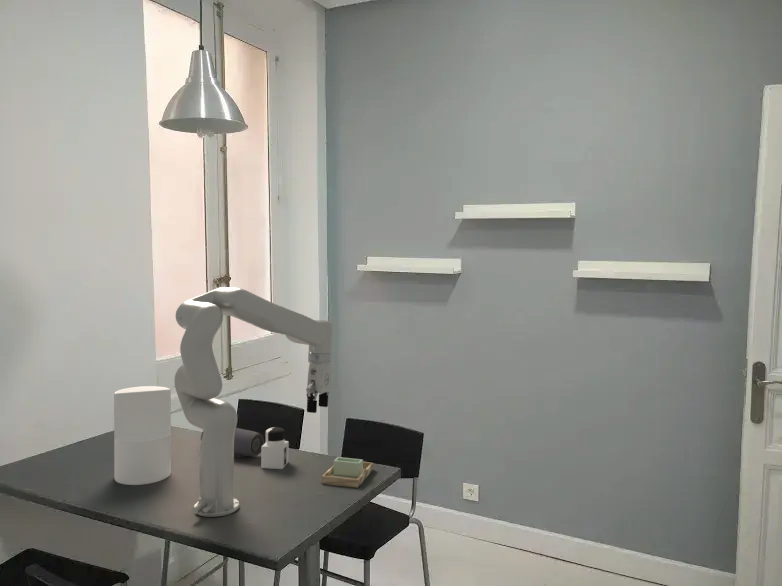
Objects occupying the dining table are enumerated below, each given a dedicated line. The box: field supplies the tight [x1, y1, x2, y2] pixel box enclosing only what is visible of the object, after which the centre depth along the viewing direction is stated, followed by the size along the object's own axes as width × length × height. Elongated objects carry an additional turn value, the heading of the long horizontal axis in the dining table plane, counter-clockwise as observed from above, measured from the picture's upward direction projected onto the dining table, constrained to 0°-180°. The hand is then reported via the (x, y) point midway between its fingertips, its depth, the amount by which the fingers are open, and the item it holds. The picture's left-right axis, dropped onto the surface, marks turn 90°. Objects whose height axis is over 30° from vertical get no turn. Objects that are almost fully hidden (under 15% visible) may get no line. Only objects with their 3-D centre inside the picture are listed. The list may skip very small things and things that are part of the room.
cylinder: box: [113, 385, 172, 486], centre depth 200 cm, size 17×17×28 cm
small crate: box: [333, 456, 364, 478], centre depth 203 cm, size 4×9×5 cm, turn 76°
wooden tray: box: [321, 461, 374, 489], centre depth 203 cm, size 17×12×2 cm
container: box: [260, 426, 290, 470], centre depth 213 cm, size 8×8×13 cm
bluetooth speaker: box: [200, 427, 265, 458], centre depth 223 cm, size 23×9×10 cm, turn 65°
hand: (317, 409), depth 201 cm, fingers open, 9 cm apart
